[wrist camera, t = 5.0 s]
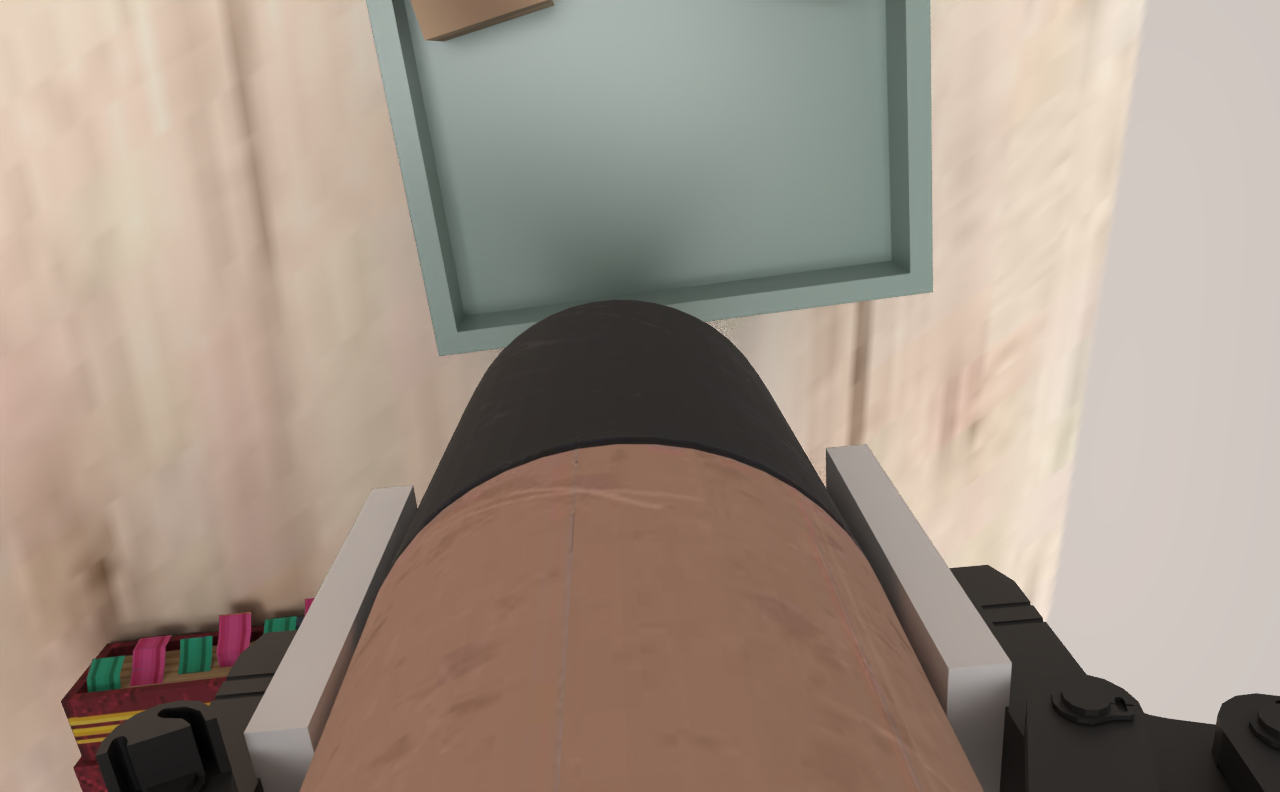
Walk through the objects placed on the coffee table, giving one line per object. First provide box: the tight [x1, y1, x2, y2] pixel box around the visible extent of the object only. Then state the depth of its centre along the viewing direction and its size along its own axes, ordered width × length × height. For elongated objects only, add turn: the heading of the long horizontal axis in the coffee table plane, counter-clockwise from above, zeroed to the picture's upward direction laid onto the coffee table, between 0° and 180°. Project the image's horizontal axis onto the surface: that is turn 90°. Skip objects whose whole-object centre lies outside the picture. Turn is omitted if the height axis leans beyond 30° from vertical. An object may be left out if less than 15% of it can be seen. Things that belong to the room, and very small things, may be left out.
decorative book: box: [61, 598, 315, 792], centre depth 41 cm, size 11×16×5 cm
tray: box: [366, 0, 933, 356], centre depth 32 cm, size 18×16×3 cm
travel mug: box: [299, 300, 984, 792], centre depth 12 cm, size 8×8×20 cm
